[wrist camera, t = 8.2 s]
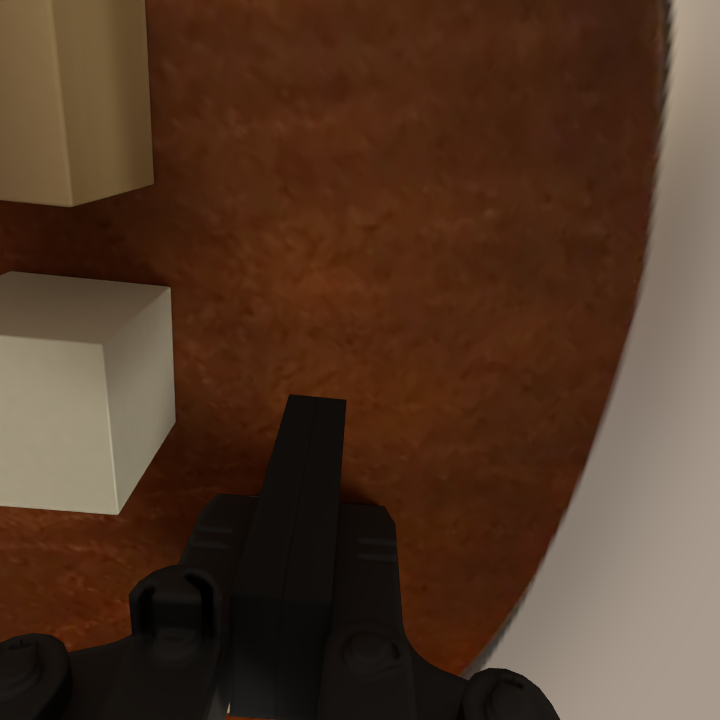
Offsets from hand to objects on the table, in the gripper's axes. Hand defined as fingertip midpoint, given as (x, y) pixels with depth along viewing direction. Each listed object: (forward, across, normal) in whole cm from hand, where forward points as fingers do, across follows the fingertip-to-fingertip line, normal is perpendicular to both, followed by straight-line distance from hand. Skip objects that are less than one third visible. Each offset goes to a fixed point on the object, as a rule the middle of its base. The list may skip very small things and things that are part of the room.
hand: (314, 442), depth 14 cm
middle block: (+4, -8, 0) cm, 9 cm away
